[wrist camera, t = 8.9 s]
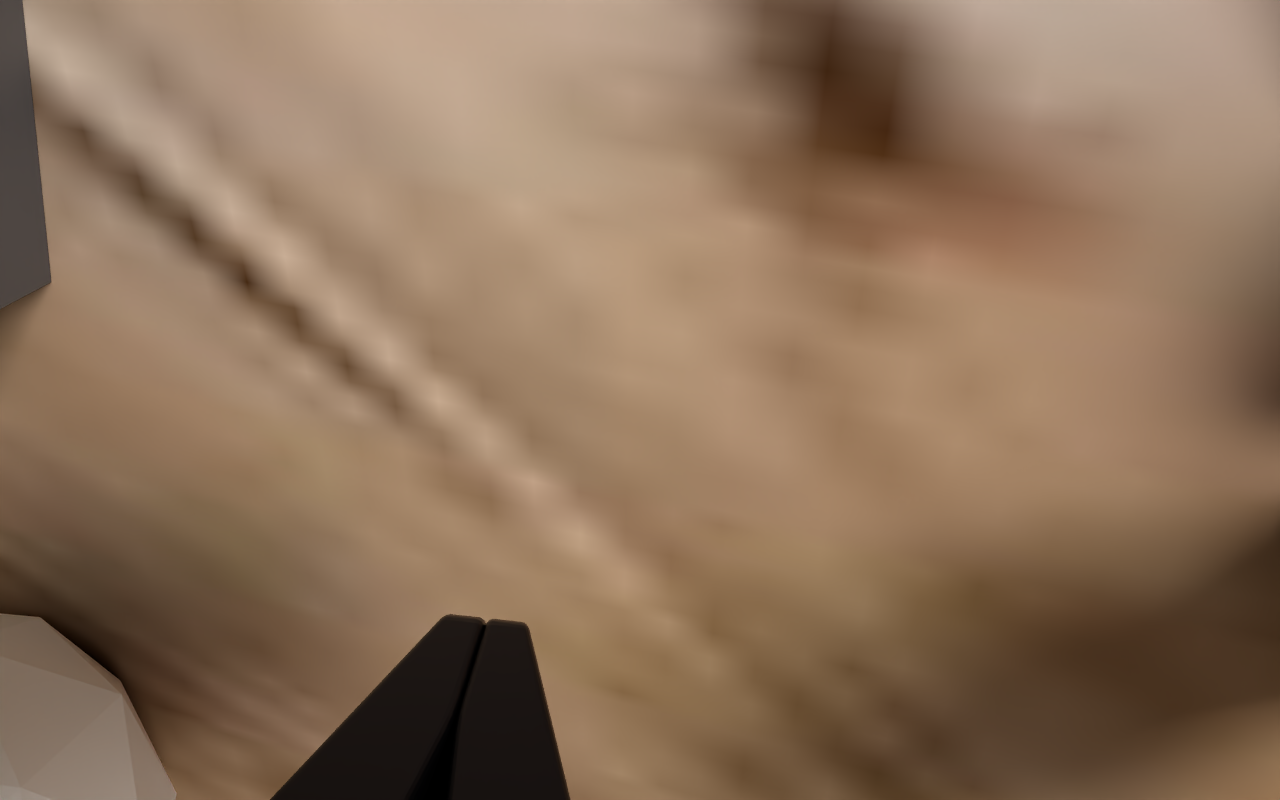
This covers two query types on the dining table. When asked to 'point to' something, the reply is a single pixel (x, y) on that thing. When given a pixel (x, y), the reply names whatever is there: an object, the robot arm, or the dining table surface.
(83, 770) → the geodesic sphere
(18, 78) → the chute block
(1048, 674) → the dining table surface
